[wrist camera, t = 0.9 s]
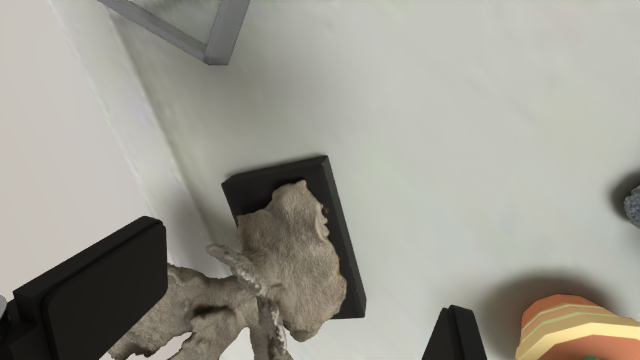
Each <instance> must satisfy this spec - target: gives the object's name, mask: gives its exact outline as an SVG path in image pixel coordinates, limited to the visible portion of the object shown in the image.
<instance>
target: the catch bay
mask: <svg viewBox="0 0 640 360" xmlns="http://www.w3.org/2000/svg"><path fill="white" fill-rule="evenodd" d="M98 1H99V2H101V3H103V4H104V5H106V6H108V7H110V8H111V9H113V10H115V11H116V12H118V13H120V14H122V15H123V16H125V17H127V18H129V19H130V20H132V21H134V22H135V23H137V24H139V25H141V26H142V27H144V28H146V29H147V30H149V31H151V32H153V33H154V34H156V35H158V36H159V37H161V38H163V39H165V40H166V41H168V42H170V43H172V44H173V45H175V46H177V47H178V48H180V49H182V50H184V51H185V52H187V53H189V54H190V55H192V56H194V57H196V58H197V59H199V60H201V61H203V62H204V63H206V64H208V65H228V62H229V59H230V56H231V53H232V51H233V48H234V45H235V42H236V39H237V36H238V33H239V31H240V28H241V25H242V22H243V19H244V16H245V13H246V11H247V8H248V5H249V2H250V0H221V3H220V6H219V9H218V13H217V16H216V19H215V22H214V25H213V29H212V32H211V35H210V38H209V41H208V45H207V46H206V45H205V44H203V43H201V42H199V41H198V40H196V39H194V38H192V37H191V36H189V35H187V34H185V33H184V32H182V31H180V30H179V29H177V28H175V27H173V26H172V25H170V24H168V23H166V22H165V21H163V20H161V19H160V18H158V17H156V16H154V15H153V14H151V13H149V12H147V11H146V10H144V9H142V8H141V7H139V6H137V5H135V4H134V3H132V2H130V1H128V0H98Z"/></svg>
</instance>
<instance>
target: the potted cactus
mask: <svg viewBox="0 0 640 360" xmlns="http://www.w3.org/2000/svg"><path fill="white" fill-rule="evenodd" d="M521 329H522V331H521V338H520V345H519V346H518V347H517V348H516V355H515V360H640V323H639V322H637V321H636V320H634V319H632V318H625V317H620V316H618V315H616V314H614V313H612V312H610V311H608V310H606V309H605V308H603V307H599V306H598V305H596V304H595V303H593V302H591V301H589V300H587V299H585V298H583V297H581V296H576V295H563V294H555V295H552V296H549V297H546V298H542V299H539V300H536V301H535V302H534V303H533V304H532V305H531V306H530V307H529V308H528V309H527V310H526V311H525V312H524V313H523V316H522V323H521Z"/></svg>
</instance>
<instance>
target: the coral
mask: <svg viewBox="0 0 640 360" xmlns="http://www.w3.org/2000/svg"><path fill="white" fill-rule="evenodd" d="M221 186H222V189H223V191H224V194H225V196H226V199H227V202H228V204H229V207H230V209H231V212H232V215H233V218H234V220H235V223H236V225H237V228H238V238H239V247H240V248H239V249H240V252H241V254H237V253H235V252H234V251H233V250H231V249H229V248H227V247H225V246H224V245H222V246H221V245H217V244H212V245H209V246H207V248H206V250H207V252H208V253H209V254H210V255H212V256H214V257H216V258H217V259H218V260H219V261H221V262H224V263H226V264H227V265H229V266H230V269H231V272H232V273H233V275H232V276H229V277H226V278H221V279H218V278H209V277H206V276H205V275H204V274H202V273H200V272H198V271H195V270H192V269H189V268H183V267H180V268H179V267H176V266H175V265H170V263H167V269H168V289H167V292H166V294H165V295H164V297H163V298H162V299H161V300H160V301H159V302H158V303H157V304H156V305H155V306H154V307H153V308H151V309H150V310H149V311H148V312H147V313H146V314H145V315H144V316H143V317H142V318H141V319H140V320H139V321H138V322H137V323H136V324H135V325H134V326H133V327H132V328H131V329H130V330H129V331H128V332H127V333H126V334H125V335H124V336H123V337H122V338H121V339H120V340H118V341H117V342H116V343H115V344H114V345H113V346H112V347H111V348H110V349H109V350H108V353H109V354H110V355H111V357H112V358H114V359H115V360H117V359H118V360H126V359H127V358H128V357H129V356H130V355H131V354H133V353H135V354H136V355H142V354H144V356H145V357H147V358H148V357H150V356H151V355H153V354H155V353H156V351H158V350H159V348H160V347H161V346H165V345H166V344H167V342H168V341H170V340H171V339H172V338H173V337H175V336H181V335H182V334H184V333H186V332H192V335H191V336H190V337H189V338H188V339H186V340H185V341H184V342H183V343H182V345H181V346H182V348H181V349H179V352H177V353H176V354H175V355H173V356H172V357H171V358H169V359H167V360H219V357H220V355H221V354H222V353H223V352H224V350H225V349H226V348H227V347H228V346H229V345H230V344H231V343H232V342H233V341H234V340H235V339H236V338H237V336H238V334H239V333H240V331H241V330H242V329H243V328H245V327H249V328H250V340H251V344H252V349H253V352H254V360H293V358H292V357H291V355H290V354H289V353H288V351H287V342H286V335H285V331H284V329H283V326H284V327H285V328H286V329H287V330H289V331H290V335H291V336H292V337H293V338H294V339H295V340H297V341H298V342H304V341H306V340H308V339H310V338H311V337H313V336H315V335H316V334H317V332H318V330H319V329H320V327H321V326H322V324H323V323H324V322H325V321H327V320H329V319H350V318H364V317H365V309H366V295H365V292H364V288H363V284H362V280H361V277H360V273H359V269H358V266H357V262H356V259H355V255H354V251H353V247H352V244H351V240H350V236H349V232H348V229H347V225H346V221H345V217H344V214H343V210H342V206H341V203H340V199H339V195H338V192H337V188H336V184H335V180H334V177H333V173H332V169H331V165H330V162H329V158H328V156H322V157H318V158H313V159H308V160H303V161H298V162H294V163H289V164H284V165H280V166H275V167H270V168H265V169H261V170H256V171H251V172H246V173H241V174H237V175H234V176H232V177H230V178H229V179H228V180H226V181H225V182H223V183H222V184H221Z"/></svg>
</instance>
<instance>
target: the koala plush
mask: <svg viewBox="0 0 640 360" xmlns="http://www.w3.org/2000/svg"><path fill="white" fill-rule="evenodd" d="M625 199H626V200H625V201H624V204H625V206H624V209H625V210H626V215H627V216H628V218H629V219H630V221H631V223H632V224H633V225H635V226H636V227H637V228H639V229H640V185H639V186H638V187H637V188H635V189H633V190H632V191H631V196H630V197H626V198H625Z"/></svg>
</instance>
